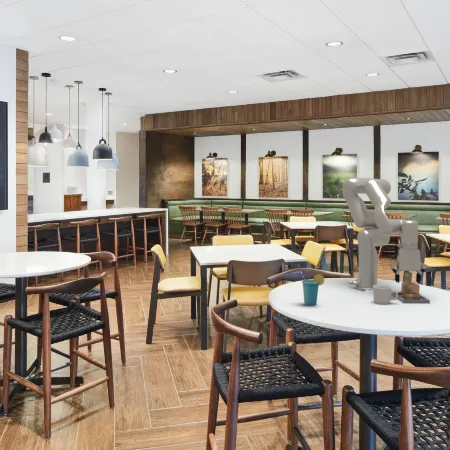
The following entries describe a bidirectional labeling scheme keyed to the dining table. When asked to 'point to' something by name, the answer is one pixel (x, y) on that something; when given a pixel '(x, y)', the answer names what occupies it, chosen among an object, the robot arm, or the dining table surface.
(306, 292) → the cup
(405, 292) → the oak dowel
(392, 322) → the dining table surface
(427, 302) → the tray
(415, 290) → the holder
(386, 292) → the cup
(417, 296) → the walnut dowel
